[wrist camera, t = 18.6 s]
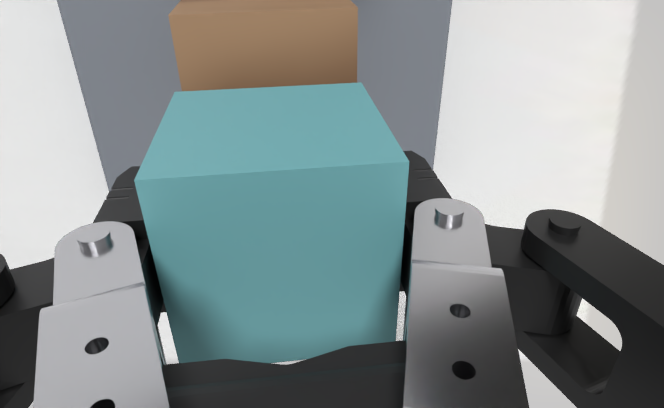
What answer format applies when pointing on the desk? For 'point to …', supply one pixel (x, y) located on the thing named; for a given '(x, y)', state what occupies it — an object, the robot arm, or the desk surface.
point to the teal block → (275, 221)
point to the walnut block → (264, 43)
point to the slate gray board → (163, 78)
